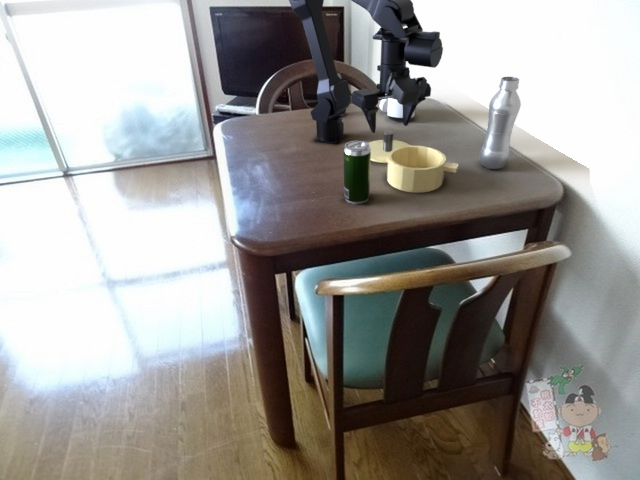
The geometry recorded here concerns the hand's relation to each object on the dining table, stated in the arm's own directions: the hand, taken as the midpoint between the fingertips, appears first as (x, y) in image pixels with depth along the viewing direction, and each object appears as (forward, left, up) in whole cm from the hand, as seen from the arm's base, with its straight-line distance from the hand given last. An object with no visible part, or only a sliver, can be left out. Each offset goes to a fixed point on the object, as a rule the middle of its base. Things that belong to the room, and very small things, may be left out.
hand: (389, 129), depth 106 cm
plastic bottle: (+25, +2, -7) cm, 26 cm away
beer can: (+1, -24, -7) cm, 25 cm away
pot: (+10, -11, -7) cm, 16 cm away
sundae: (-24, +22, -7) cm, 33 cm away
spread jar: (-6, +27, -7) cm, 29 cm away
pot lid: (0, 0, -6) cm, 6 cm away
